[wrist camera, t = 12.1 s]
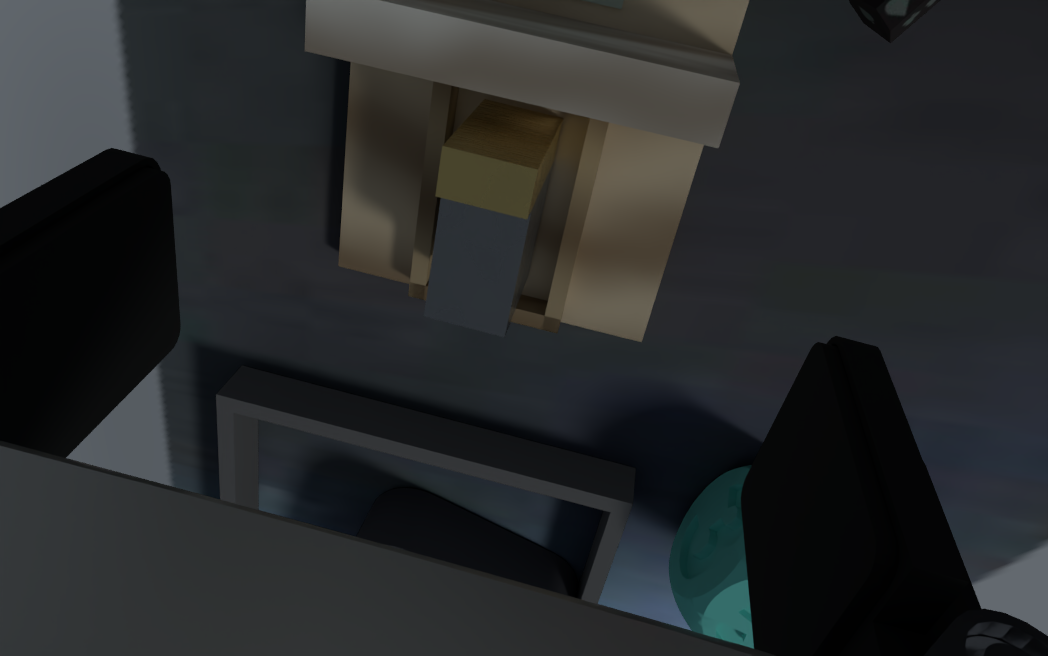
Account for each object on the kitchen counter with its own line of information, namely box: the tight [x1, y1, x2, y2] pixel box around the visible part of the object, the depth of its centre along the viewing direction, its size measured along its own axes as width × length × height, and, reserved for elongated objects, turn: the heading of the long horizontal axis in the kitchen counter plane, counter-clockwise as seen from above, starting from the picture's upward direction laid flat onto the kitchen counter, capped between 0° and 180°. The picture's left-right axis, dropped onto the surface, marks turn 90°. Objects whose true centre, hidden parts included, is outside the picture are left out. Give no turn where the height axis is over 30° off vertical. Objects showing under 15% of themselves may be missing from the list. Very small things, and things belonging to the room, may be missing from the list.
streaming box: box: [356, 488, 577, 598], centre depth 50 cm, size 14×14×5 cm
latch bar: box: [424, 99, 563, 337], centre depth 33 cm, size 8×4×7 cm, turn 169°
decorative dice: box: [669, 465, 754, 649], centre depth 41 cm, size 8×8×8 cm
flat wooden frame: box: [305, 0, 749, 342], centre depth 31 cm, size 26×16×6 cm, turn 169°
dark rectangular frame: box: [216, 366, 636, 604], centre depth 50 cm, size 24×24×3 cm
